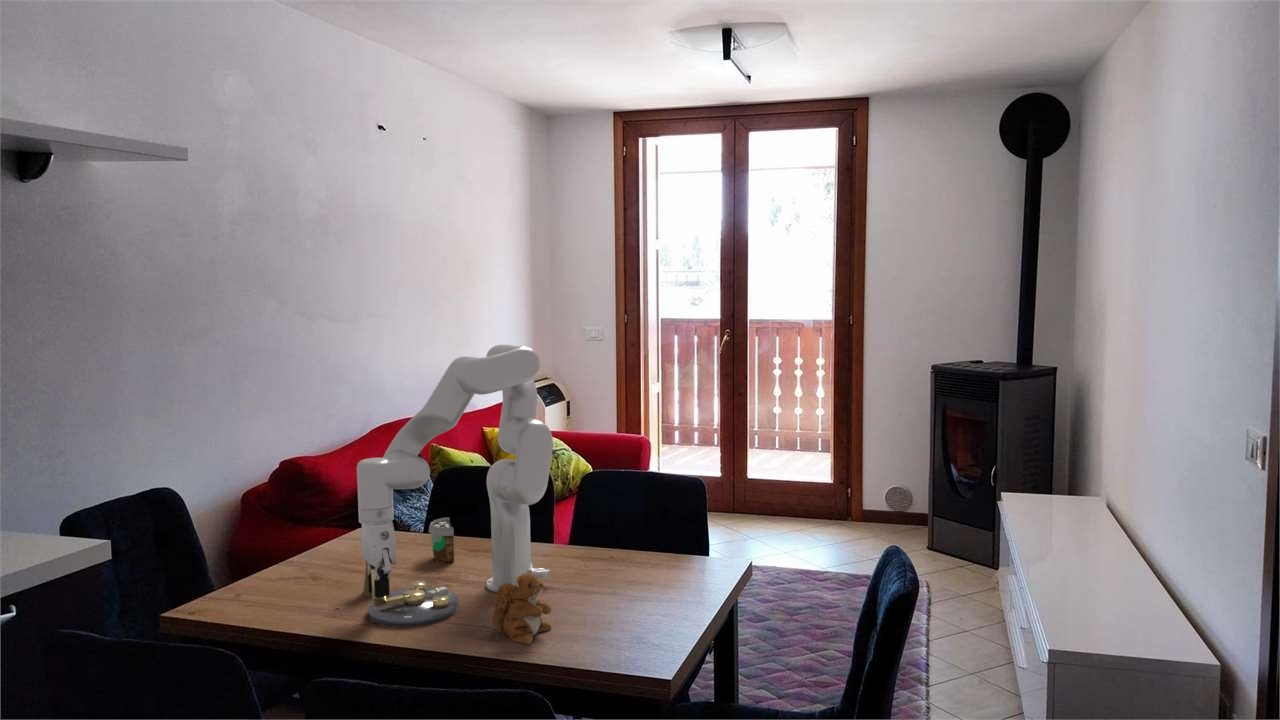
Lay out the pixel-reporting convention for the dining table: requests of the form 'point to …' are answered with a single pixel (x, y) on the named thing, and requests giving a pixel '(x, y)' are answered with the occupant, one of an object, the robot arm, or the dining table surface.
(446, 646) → the dining table surface
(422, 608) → the base
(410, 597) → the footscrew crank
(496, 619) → the stuffed squirrel
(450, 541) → the food container
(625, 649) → the dining table surface
